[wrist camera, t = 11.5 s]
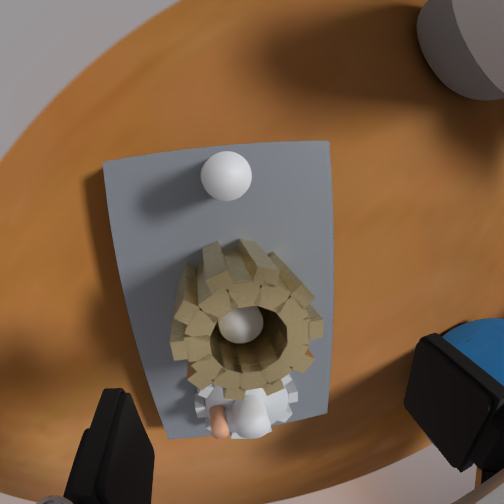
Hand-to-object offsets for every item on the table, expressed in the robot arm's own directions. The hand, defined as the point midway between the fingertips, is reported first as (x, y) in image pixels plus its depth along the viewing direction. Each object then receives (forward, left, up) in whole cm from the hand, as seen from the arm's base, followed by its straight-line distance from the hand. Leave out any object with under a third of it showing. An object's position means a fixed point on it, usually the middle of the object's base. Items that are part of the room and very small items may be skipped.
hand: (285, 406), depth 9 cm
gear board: (+1, +1, -11) cm, 11 cm away
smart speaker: (-18, -17, -11) cm, 27 cm away
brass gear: (0, 0, -9) cm, 9 cm away
